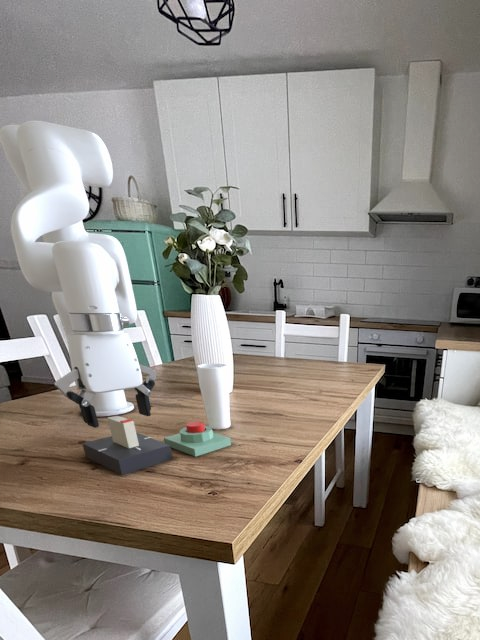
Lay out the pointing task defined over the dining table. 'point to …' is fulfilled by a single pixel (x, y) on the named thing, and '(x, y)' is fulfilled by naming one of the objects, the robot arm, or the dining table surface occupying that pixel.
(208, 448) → the button box
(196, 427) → the button
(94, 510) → the dining table surface
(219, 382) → the drinking glass
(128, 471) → the panel
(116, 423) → the knob
